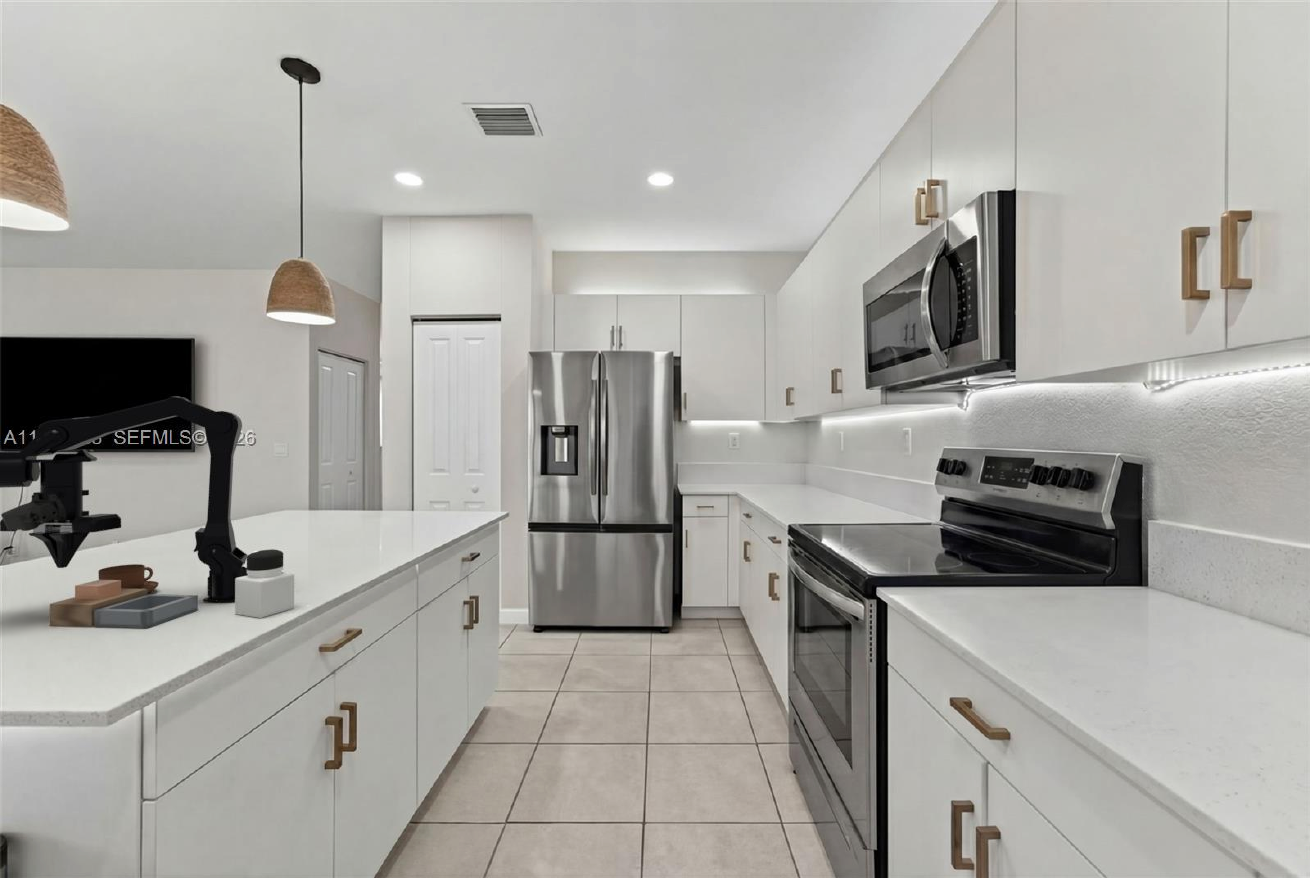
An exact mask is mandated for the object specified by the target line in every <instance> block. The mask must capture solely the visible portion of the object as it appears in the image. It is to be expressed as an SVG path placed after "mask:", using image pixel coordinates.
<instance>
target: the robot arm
mask: <svg viewBox="0 0 1310 878" xmlns="http://www.w3.org/2000/svg"><path fill="white" fill-rule="evenodd" d="M175 417H178V418H180V419H182V420H185V421H187V422H190V423H192V424H193V425H194V424H195V425H197V426H199V427H201V428H204V433H205V437H206V441H207V446H208V449H209V453H210V455H209V456H210V460H209V462H210V463H209V479H208V500H207V517H206V519H207V521H206V524H205V525H204V526H205V527H200V528H199V529H197V530H196V531H195V532H194V536H195V548H194V549H193V553H197V558H198V561H200V562H201V563H203V565H207V566H208V568H209V570H208V577H207V597H205V598H202V602H212V603H213V602H214V603H215V602H216V603H233V602H235V579H236V578H238V577H243V576H247V575H249V574H247V567H245V566H244V565H245V563H246V562H247V555H248V554H247V553H246V552H244V551H243V550H242V549H240V547H237V543H236V537H235V532H234V531H235V530H234V527H233V523H232V520H231V519H232V518H231V515H232V514H231V511H232V510H231V509H232V495H233V492H232V491H233V472H234V456H235V452H236V449H237V447H238V446H237V445H238V444H239V441H240V436H241V432H242V430H243V422H242V419H241V418H240V417H239V416H238V415H237V414H235V413H233V412H229V411H224V410H217V411H216V410H213V409H211V408H208V407H205V406H202V405H201V404H198V403H195V402H192V401H191V400H189V399H188V398H186V397H182V396H178V395H177V396H176V395H173V396H170V397H168V398H166V399H162V400H157V401H153V402H149V403H146V404H142V405H137V406H134V407H130V408H125V409H120V410H117V411H111V412H108V413H105V414H101V415H94V416H84V417H74V418H73V417H71V418H64V419H63V418H61V419H54V420H53V419H52V420H48V421H47V420H46V421H44V422H42V423H41V424H39V425H38V427H37V429H36V430H35V433H34V438H33V439H32V440H30V442H29V443H27V445H26V446H25V447H23V449H21V450H20V451H3V450H0V488H2V489H4V488H27V487H28V488H29V487H30V486H31V485H32V483H33V482H38V480H39V485H40V486H39V487H40V488H39V491H36V492H33V493H32V495H31V501H30V502H27V503H24V504H21V505H19V506H16V507H14V508H11V509H9V510H7V511H3V512H2V513H1V515H0V516H1V518H2V519H1V520H0V532H17V531H23V532H27V531H31V530H32V532H30V533H28V535H29V536H30V537H34V538H37V539H38V540H40V541H42V542H43V544H44V545H45V547H46V549H47V550H48V552H49V553H50V556H51V557H52V560H53V562H54V564H55V565H56V568H58V569H64V568H67V567H68V566H69V564H70V562H71V561H72V559H73V557H74V556H75V554H76V553H77V551H78V549H79V548H80V547H81V545H82V544H83V542H84V541H85V540H86V539H87V537H88V536H89V534H90V533H97V532H105V531H110V530H116V529H121V528H122V517H121V516H120V515H118V513H95V514H90V510H84V505H83V504H84V497H85V496H89V495H90V490H89V489H84V487H83V486H84V485H83V482H84V480H83V479H84V478H83V477H84V476H83V474H84V470H83V467H84V466H83V464H84V463H90V462H91V463H92V462H97V460H98V457H96V456H95V455H93V454H91V453H90V452H89V451H88V450H87V449H80V450H79V451H78V452H76V453H59V452H60V451H71V450H76V449H77V448H81V447H82V446H86V445H87V444H90V443H92V442H94V441H97V440H99V439H101V438H103V437H105V436H108V435H110V434H113V433H117V432H118V433H119V432H122V431H125V430H128V429H132V428H133V429H134V428H136V427H141V426H144V425H148V424H152V423H156V422H160V421H163V420H167V419H168V420H169V419H171V418H175ZM54 454H55V455H54ZM50 455H54V456H53V458H43V459H42V458H41V459H39V458H38V456H39V457H40V456H41V457H42V456H50ZM39 478H40V479H39Z"/></svg>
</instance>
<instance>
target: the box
mask: <svg viewBox="0 0 1310 878" xmlns="http://www.w3.org/2000/svg"><path fill="white" fill-rule="evenodd" d="M198 601H199V595H197V594H167V593H166V594H162V593H161V594H160V593H159V594H158V593H148V595H145V596H142V597H138V598H135V599H131V600H128V601H125V602H121V603H118V604H115V605H111V606H108V607H104V608H101V609H98V610H94V626H93V627H94V628H106V629H107V628H111V629H112V628H113V629H117V628H118V629H142V630H143V629H144V630H145V629H150V628H153V627H155V626H158V625H161V624H163V623H167V622H169V621H172V620H175V619H177V618H180V617H183V616H186V615H188V614H191V613H194V612H197V611H198V610H199V602H198Z"/></svg>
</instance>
